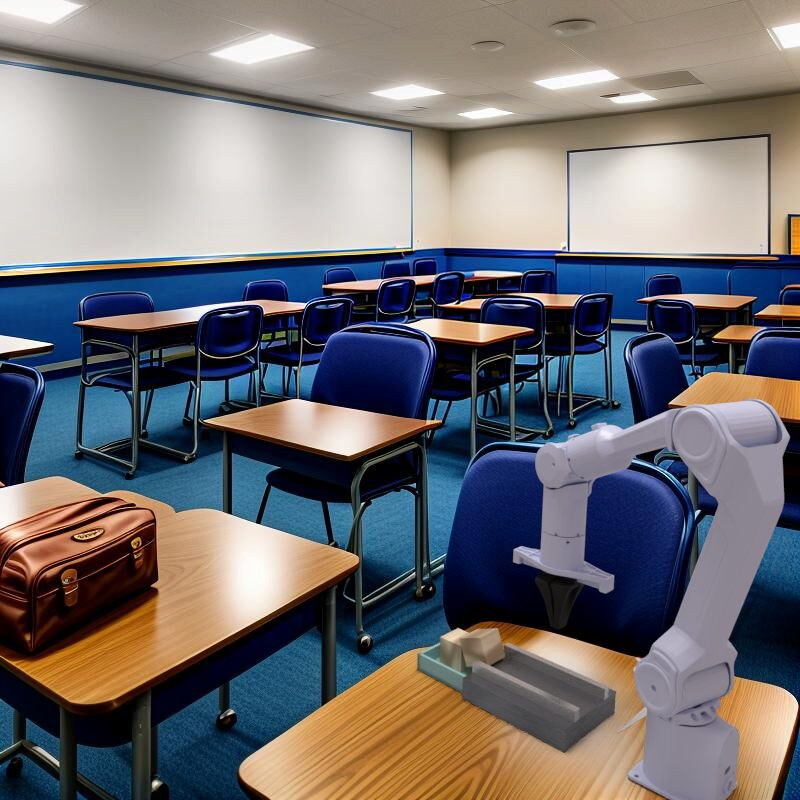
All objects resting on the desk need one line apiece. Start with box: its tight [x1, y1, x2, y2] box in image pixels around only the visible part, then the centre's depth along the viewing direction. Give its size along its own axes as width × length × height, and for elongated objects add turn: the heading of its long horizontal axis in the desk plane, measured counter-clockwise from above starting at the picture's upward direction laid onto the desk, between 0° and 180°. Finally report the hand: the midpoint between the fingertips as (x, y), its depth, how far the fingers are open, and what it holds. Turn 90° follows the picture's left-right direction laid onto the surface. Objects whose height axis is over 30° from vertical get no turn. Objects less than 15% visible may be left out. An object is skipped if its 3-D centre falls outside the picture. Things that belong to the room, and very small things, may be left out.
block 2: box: [459, 627, 505, 667], centre depth 105 cm, size 4×4×4 cm
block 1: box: [439, 627, 470, 673], centre depth 108 cm, size 4×4×4 cm
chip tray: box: [416, 642, 504, 694], centre depth 107 cm, size 9×10×2 cm
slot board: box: [461, 642, 617, 753], centre depth 98 cm, size 16×12×4 cm
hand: (558, 625), depth 101 cm, fingers closed
